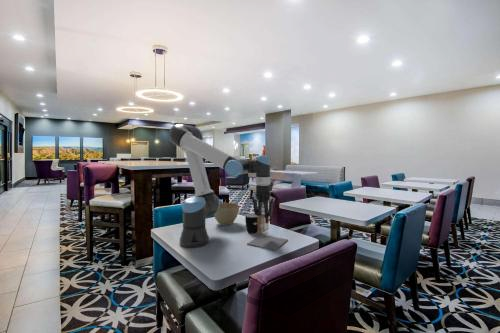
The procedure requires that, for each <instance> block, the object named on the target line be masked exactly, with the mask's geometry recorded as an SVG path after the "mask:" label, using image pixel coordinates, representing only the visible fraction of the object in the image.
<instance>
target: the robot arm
mask: <svg viewBox="0 0 500 333" xmlns="http://www.w3.org/2000/svg"><path fill="white" fill-rule="evenodd" d="M168 138H169V140H170V142H171V143H172V144H174V145H175V146H177V147H179V148H181V151H182V152H183V153H184V154H185V156H186V160H187V164H188V167H189V172H190V175H191V179H192V183H193V184H192V185H193V186H194V192H195V194H194V195H193V196H192V197H191V196H190V197H188V198H185V199H184V200H183V201H182V208H181V210H182V230H181V233H180V238H179V245H180V246H182V247H183V248H199V247H204V246H206V245H208V244H209V242H210V237H209V235H208V232H207V231H208V230H207V228H206V219H207V218H210V217H211V216H214V214H215V213H216V212H217V211H218V210H219V208H220V203H221V202H220V198H219V197H218V196H217V195H216V194H215V191H214V190H213V189H211V186H210V181H209V179H208V175H207V170H206V167H205V163H204V160H206V161H208V162H210V163H211V164H214V165H215V166H216V167H219V168H220V169H223V171H225V173H226V174H228V175H229V176H231V177H233V176H234V177H237V176H239V175H244V174H255V184H256V185H255V194H254V195H252V196H251V197H250V198H251V200H252V204H253V205H252V206H253V213H254V214H255V215H257V216H259V215H261V214H263V213H262V210H264V213H265V217H264V230H265V229H267V223H268V224H269V222H270V220H269V219H270V217H271V216H273V211H274V203H275V200H276V197H272V195H271V158H270V156H269V155H256V156H255V158H252V159H248V158H247V159H245V158H238V159H237V158H235V157H233V156H232V155H229V154H228V153H226V152H224V151H222V150H221V149H219V148H217V147H216V146H213V145H212V144H209V143H208V142H206V141H204V136H203V133H202V131H201V130H200V129H199V128H198V127H197V126H194V125H187V124H181V123H177V124H175V125H173V126H171V128H170V129H169V131H168ZM263 208H264V209H263Z"/></svg>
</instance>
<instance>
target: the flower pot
mask: <svg viewBox="0 0 500 333" xmlns="http://www.w3.org/2000/svg"><path fill="white" fill-rule="evenodd" d="M239 211H240V205H239V204H238V203H232V202H222V203H221V202H220V208H219V210H218V211H217V212H216V213H215V214H214V215H213V216H214V219H215V220H216V222H217V223H218V224H219V225H220V226H230V225H233V223H234V222H235V220H236V219H237V217H238V215H239Z"/></svg>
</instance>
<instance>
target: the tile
mask: <svg viewBox="0 0 500 333" xmlns="http://www.w3.org/2000/svg"><path fill="white" fill-rule="evenodd" d="M264 217H265V212H263V213H261V215H259V216H258V232H257V234H259V235H263V234H264V233H265V232H266V231H268V230H269V222H268V223H267V229H265V230H264Z"/></svg>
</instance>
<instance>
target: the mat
mask: <svg viewBox="0 0 500 333" xmlns="http://www.w3.org/2000/svg"><path fill="white" fill-rule="evenodd" d="M287 242H288V239H287V238H282V237H276V236H272V235H266V234H259V235H258V236H257V237H255V238H253V239H252V240H250V241H249V242H247V243H246V244H247V246H252V247H256V248H260V247H261V248H260V249H265V248H266V250H270V251H274V250H275V251H276V252H277V250H278V249H280V248H281V247H282V246H283V245H284V244H285V243H287ZM280 246H281V247H280ZM279 247H280V248H279ZM275 251H274V252H275Z"/></svg>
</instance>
